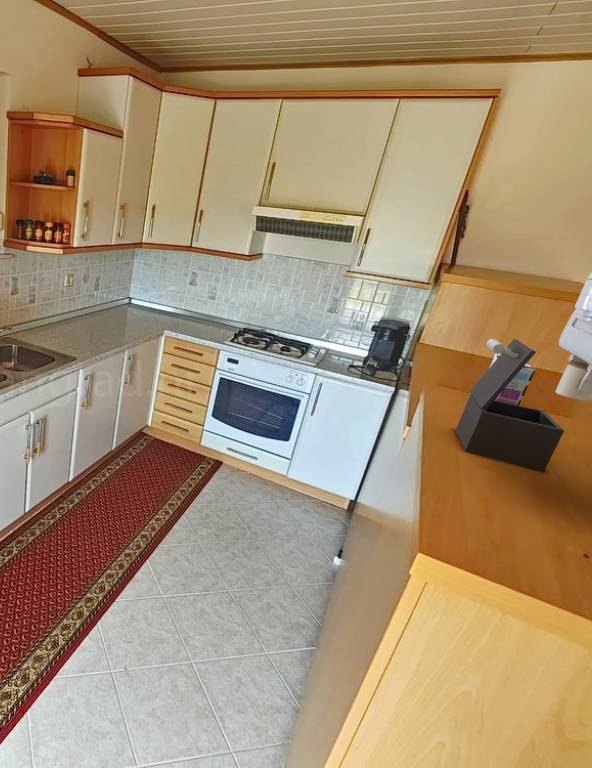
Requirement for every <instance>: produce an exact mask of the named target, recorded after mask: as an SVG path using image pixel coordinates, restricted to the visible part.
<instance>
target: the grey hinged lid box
mask: <svg viewBox="0 0 592 768" xmlns="http://www.w3.org/2000/svg"><path fill="white" fill-rule="evenodd" d="M455 432H456V434H457V437H458V440H459V441H460V443H461V445H462V447H463V449H464V451H465V452H467V453H471V454H475V455H479V456H482V457H487V458H491V459H494V460H498V461H502V462H506V463H509V464H514V465H516V466H521V467H525V468H527V469H532V470H535V471H540V472H543V473H544V472H546V471H545V470H546V468H547V467H548V464H549V463H550V460H551V459H552V456H553V454H554V453H555V450H556V448H557V446H558V445H559V442H560V440H561V439H562V436H563V434H564V433H565V429H563V428H562V427H561V426H560V425H559V424H558V423H557V422H556V421H555V420H554V419H553V418H552V417H551V416H549V414H547V412H545V410H543V409H538V408H534V407H528V406H525V405H521V404H519V405H515V404H511V403H506V402H502V401H497V400H494V401H493V402H492V403H491V404H490V405H489V407H488V408H487V409H486V410H483V409H481V408H480V406H479V405H478V403H477V402H476V400H475V399H474V398H473V396H472V395H471V394H469V397H468V400H467V401H466V404H465V407H464V409H463V411H462V414H461V416H460V419H459V421H458V424H457V426H456V428H455Z"/></svg>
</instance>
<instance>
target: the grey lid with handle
mask: <svg viewBox="0 0 592 768" xmlns="http://www.w3.org/2000/svg"><path fill="white" fill-rule="evenodd" d="M485 344H486V346H487V347H488V348H489V349H490V350H491V351H493V352H494V354H500V356H499V357H498V358H497V360H496V361H495V362H494V363H493V364H492V365H491V364H490V365H491V367H490V366H489V367H490V368H488V369H487V370H486V371H485V372H484V374H483V375H482V376H481V377H480V378H479V379H478V381H477V382H476V383H475V384H474V385H473V386H472V388H470V390H469V394H470V395H472V396H473V398H474V399H475V400H476V402H477V403H478V405H479V406H480V408H481V409H483V410H486V409H487V408H488V407H489V405H490V404H491V403H492V402H493V401H494V400H495V399H496V398H497V396H498V395H499V394H500V393H501V392H502V391H503V390H504V388H505V387H506V386H507V385H508V384H509V383H510V382H511V380H512V379H513V378H514V377H515V376H516V375H517V374H518V372H519V371H520V370H521V369H522V368H523V367H524V366H525V365H526V363H529V362H530V360H531V359H532V358H533V357H534V355H535V354H536V353H537V351H536V350H534V349H532V348H531V347H529V346H528V345H526V344H525V343H523V342H522V341H520V340H519V339H516V338H513V339H512V341H511V342H510V343H509V344H507V346H505V345H503V343H501V342H500V341H498V340H497V339H495V338H490V339H488V340H487V341H486V343H485Z"/></svg>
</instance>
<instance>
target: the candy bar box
mask: <svg viewBox="0 0 592 768" xmlns="http://www.w3.org/2000/svg"><path fill="white" fill-rule="evenodd" d="M500 355H501V353H494V355H493V359H492V360H491V363H490V365H489V368H490V367H491V365H492V364H493V363H494V362H495V361H496V360H497V358H498V357H499V356H500ZM489 368H488V369H489ZM536 371H537V368H536V367H534V366H532V365H531V364H529V362H527V363H526V365H525V366H524V367H523V368H522V369H521V370H520V371H519V372H518V374H517V375H516V376H515V377H514V378H513V379H512V380H511V382H510V383H509V384H508V385H507V386H506V387H505V388H504V390H503V391H502V392H501V393H500V394H499V395H498V396H497V398H496V399H495V400H497V401H502V402H506V403H511V404H515V405H521V403H522V400H523V398H524V396H525V394H526V392H527V390H528V388H529V386H530V384H531V381H532V380H533V378H534V375H535V373H536Z"/></svg>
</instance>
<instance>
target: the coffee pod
mask: <svg viewBox="0 0 592 768" xmlns="http://www.w3.org/2000/svg"><path fill="white" fill-rule="evenodd" d="M568 361H569V360H568ZM566 364H567V365H566V368H565V370H564V371H563V374H562V376H561V378H560V380H559V383H558V385H557V387H556V389H555V390H554V391H555V394H557V395H559V396H562V397H565V398H568V399H572V400H577V401H584V402H591V401H592V393H585V392H581V391H580V390H579V389H577V385H578V383H579V380H580V379H583V378H584V376H585V375H586V373H587V372H588V370H587V368H588V366H589V363H581V362H573V361H569V362H567V363H566Z"/></svg>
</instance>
